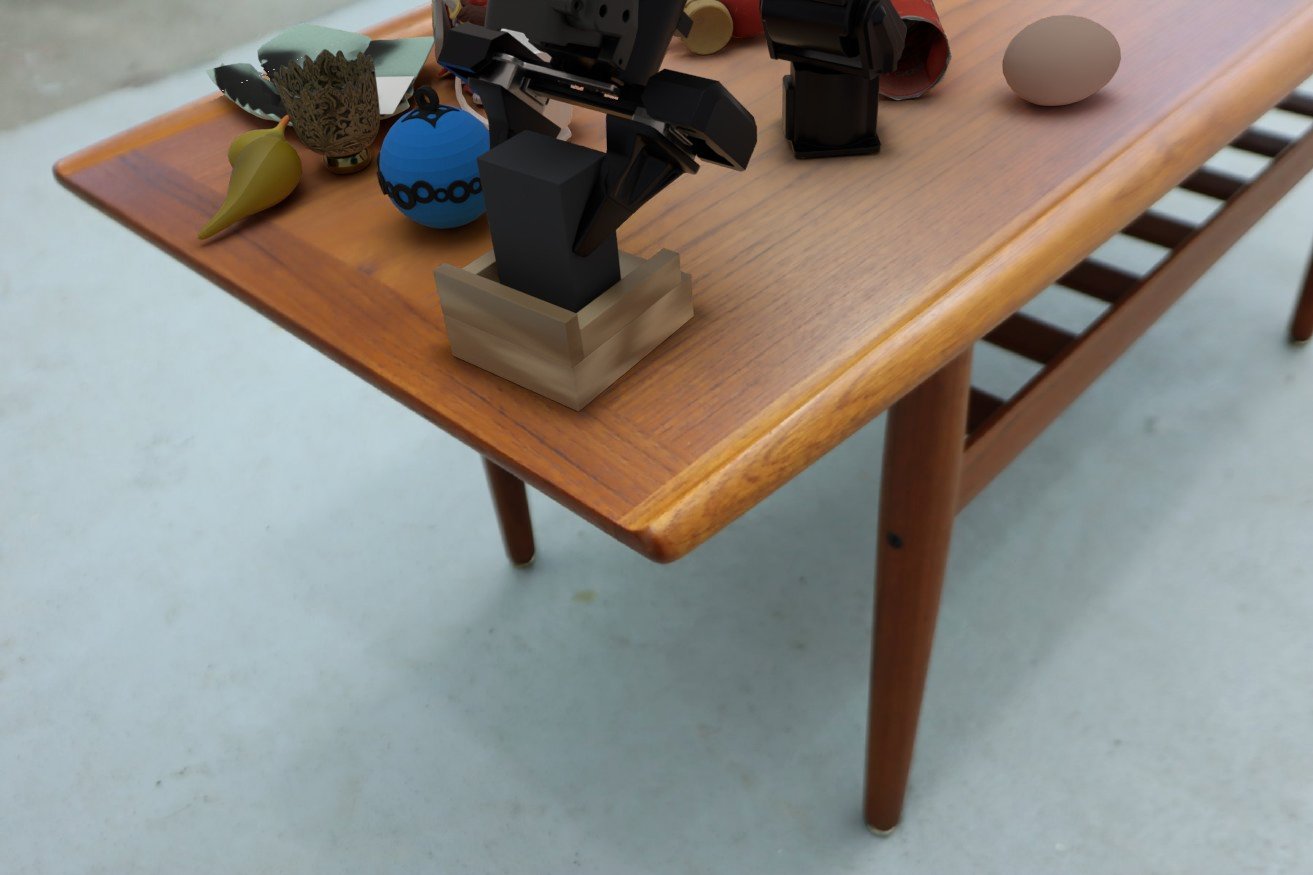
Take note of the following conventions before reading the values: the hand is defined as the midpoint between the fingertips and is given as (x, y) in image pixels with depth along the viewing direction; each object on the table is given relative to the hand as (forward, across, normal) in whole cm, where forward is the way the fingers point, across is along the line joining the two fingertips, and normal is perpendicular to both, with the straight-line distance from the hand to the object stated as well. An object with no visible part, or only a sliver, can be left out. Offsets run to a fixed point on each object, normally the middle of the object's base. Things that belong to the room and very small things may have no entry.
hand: (534, 239), depth 60 cm
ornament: (0, -17, +11) cm, 20 cm away
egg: (-28, +9, +33) cm, 44 cm away
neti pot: (0, -29, +6) cm, 29 cm away
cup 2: (-9, -21, +20) cm, 31 cm away
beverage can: (-27, -2, +38) cm, 47 cm away
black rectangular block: (+2, 0, +4) cm, 4 cm away
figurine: (-14, -31, +24) cm, 42 cm away
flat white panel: (-8, -34, +15) cm, 38 cm away
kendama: (-24, -22, +36) cm, 48 cm away
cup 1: (-2, -30, +13) cm, 33 cm away
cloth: (-10, -44, +16) cm, 47 cm away
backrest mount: (+4, 0, +7) cm, 8 cm away
